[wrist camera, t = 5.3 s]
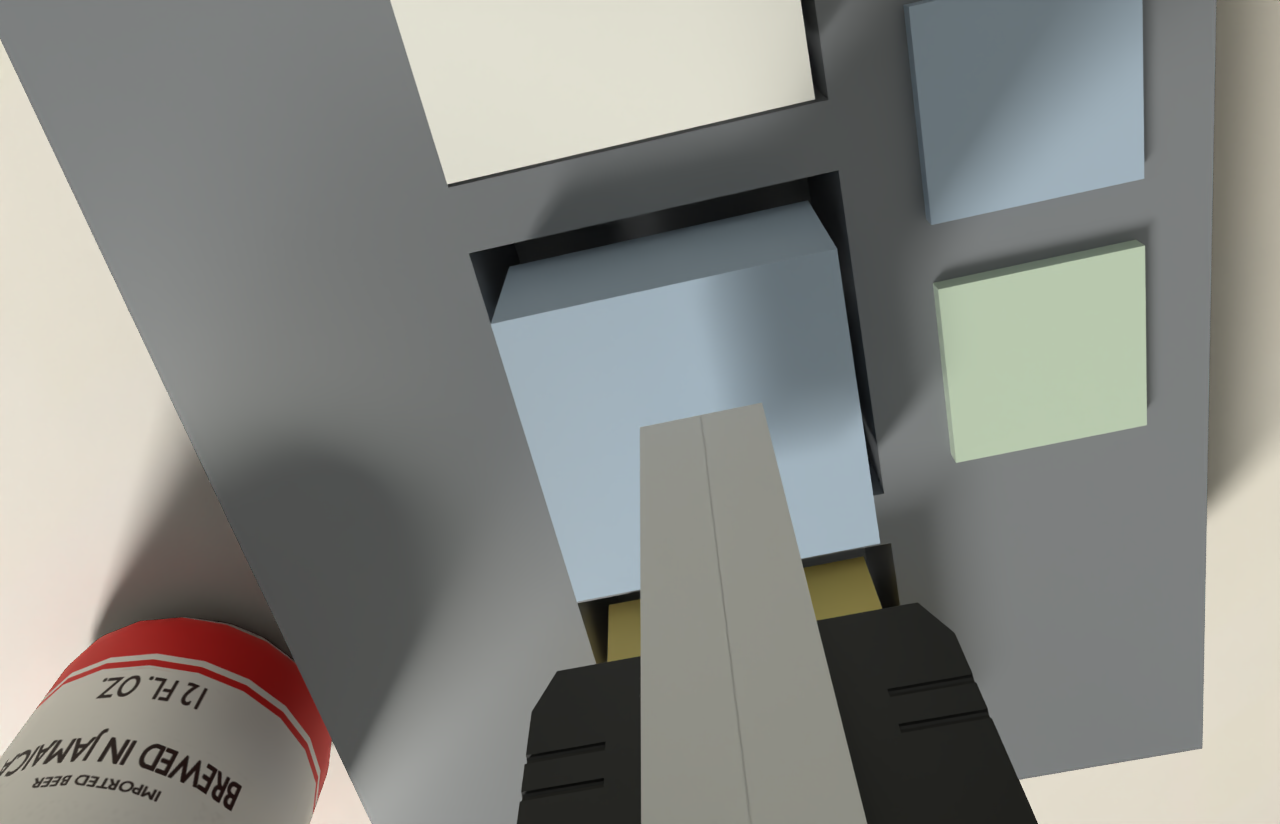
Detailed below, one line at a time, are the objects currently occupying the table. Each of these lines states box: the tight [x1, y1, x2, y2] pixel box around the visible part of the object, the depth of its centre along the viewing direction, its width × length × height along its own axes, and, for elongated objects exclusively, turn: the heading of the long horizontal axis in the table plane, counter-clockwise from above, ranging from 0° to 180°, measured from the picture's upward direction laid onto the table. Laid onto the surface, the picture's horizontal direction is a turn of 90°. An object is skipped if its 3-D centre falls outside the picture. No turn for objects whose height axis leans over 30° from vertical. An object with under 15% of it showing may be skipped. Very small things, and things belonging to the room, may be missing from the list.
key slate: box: [491, 200, 880, 602], centre depth 16 cm, size 5×5×2 cm
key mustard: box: [607, 556, 882, 662], centre depth 18 cm, size 5×5×2 cm
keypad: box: [0, 0, 1216, 824], centre depth 17 cm, size 16×26×5 cm, turn 13°
